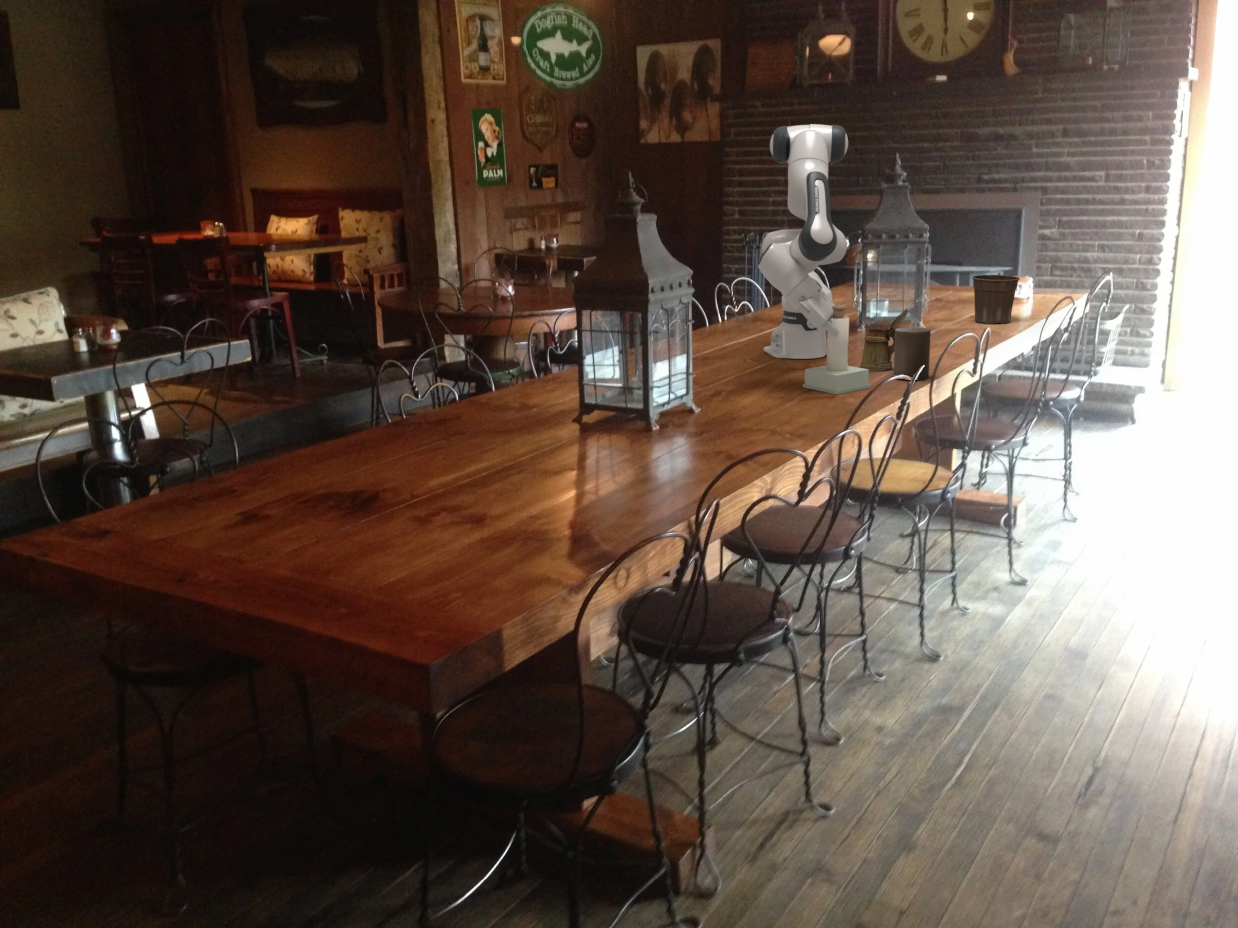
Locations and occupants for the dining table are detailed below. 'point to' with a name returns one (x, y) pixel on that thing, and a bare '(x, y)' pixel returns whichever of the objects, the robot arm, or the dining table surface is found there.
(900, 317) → the wooden mug
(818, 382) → the plinth
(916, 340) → the pillar candle
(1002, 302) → the plant pot
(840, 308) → the stoneware bottle
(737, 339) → the dining table surface
